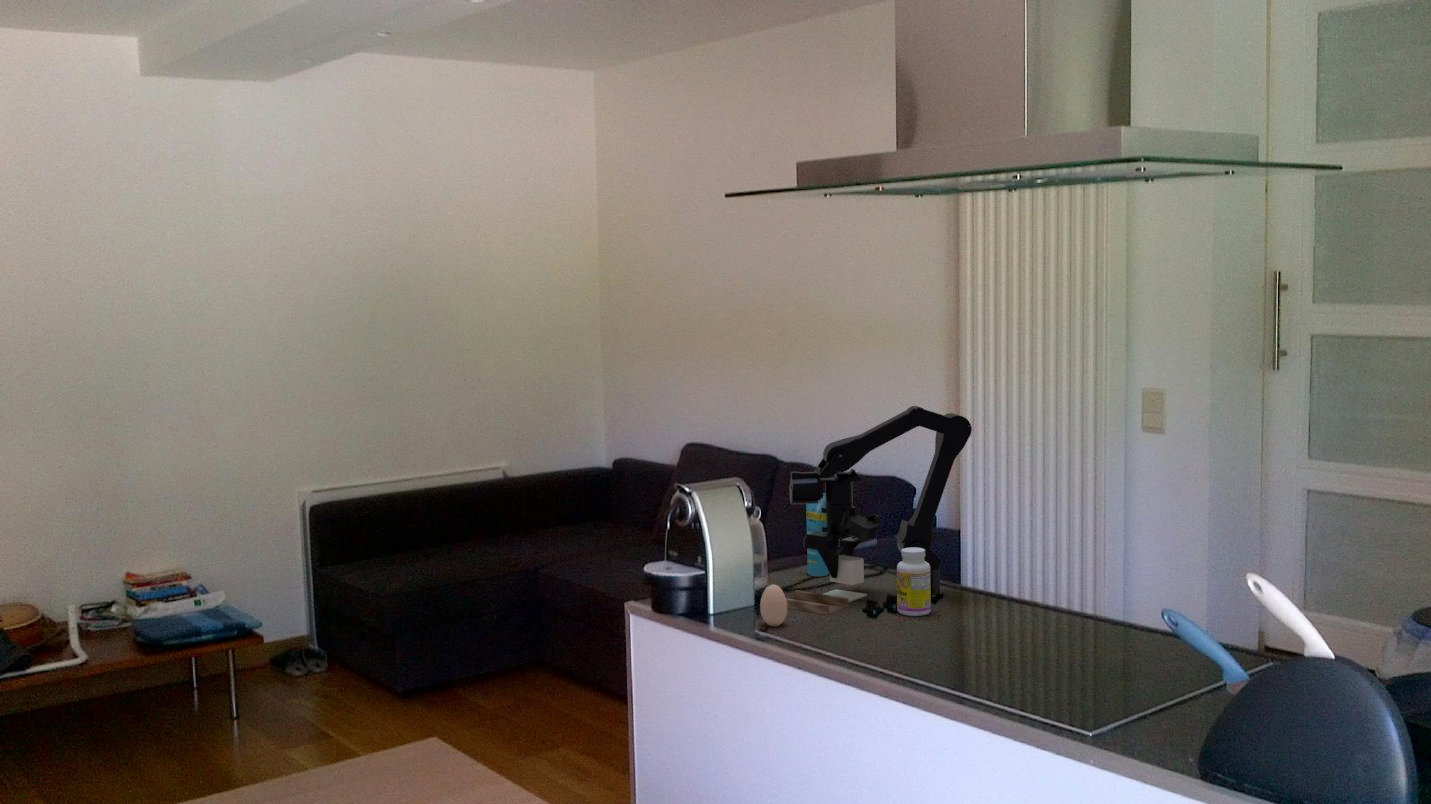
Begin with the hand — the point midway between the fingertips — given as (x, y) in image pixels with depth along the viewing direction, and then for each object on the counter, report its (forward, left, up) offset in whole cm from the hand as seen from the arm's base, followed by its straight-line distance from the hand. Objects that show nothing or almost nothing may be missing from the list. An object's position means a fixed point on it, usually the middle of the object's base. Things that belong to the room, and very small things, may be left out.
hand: (840, 575), depth 266 cm
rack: (+1, +10, -5) cm, 11 cm away
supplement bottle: (-19, +2, -5) cm, 20 cm away
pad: (0, 0, -5) cm, 5 cm away
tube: (+17, -16, -5) cm, 24 cm away
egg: (-2, +26, -5) cm, 27 cm away
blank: (-2, 0, -1) cm, 2 cm away
